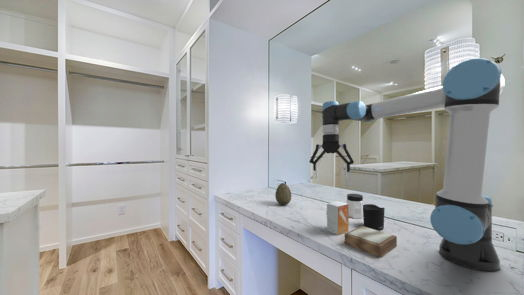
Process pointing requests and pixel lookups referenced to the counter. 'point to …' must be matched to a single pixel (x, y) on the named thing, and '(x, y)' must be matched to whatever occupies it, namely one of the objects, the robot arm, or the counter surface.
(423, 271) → the counter surface
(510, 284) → the counter surface
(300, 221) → the counter surface
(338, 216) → the small box
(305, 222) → the counter surface
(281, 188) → the decorative egg
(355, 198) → the jar
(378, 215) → the pen holder
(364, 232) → the plinth
